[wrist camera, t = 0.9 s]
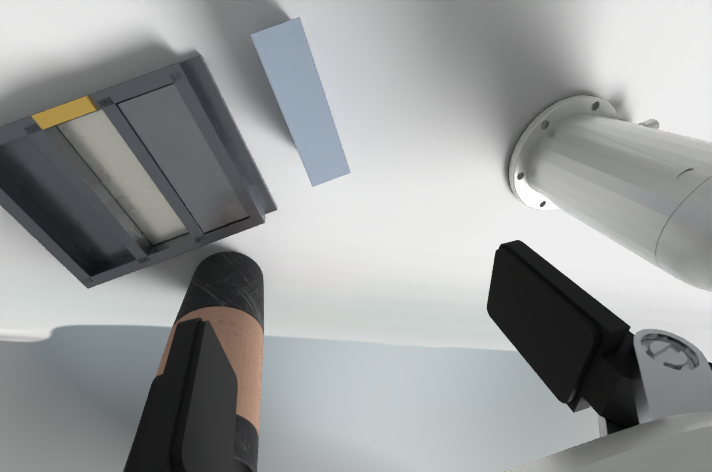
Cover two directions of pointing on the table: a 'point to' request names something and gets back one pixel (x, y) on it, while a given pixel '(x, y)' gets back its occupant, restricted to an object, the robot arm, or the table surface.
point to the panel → (301, 99)
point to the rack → (132, 174)
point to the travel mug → (232, 337)
